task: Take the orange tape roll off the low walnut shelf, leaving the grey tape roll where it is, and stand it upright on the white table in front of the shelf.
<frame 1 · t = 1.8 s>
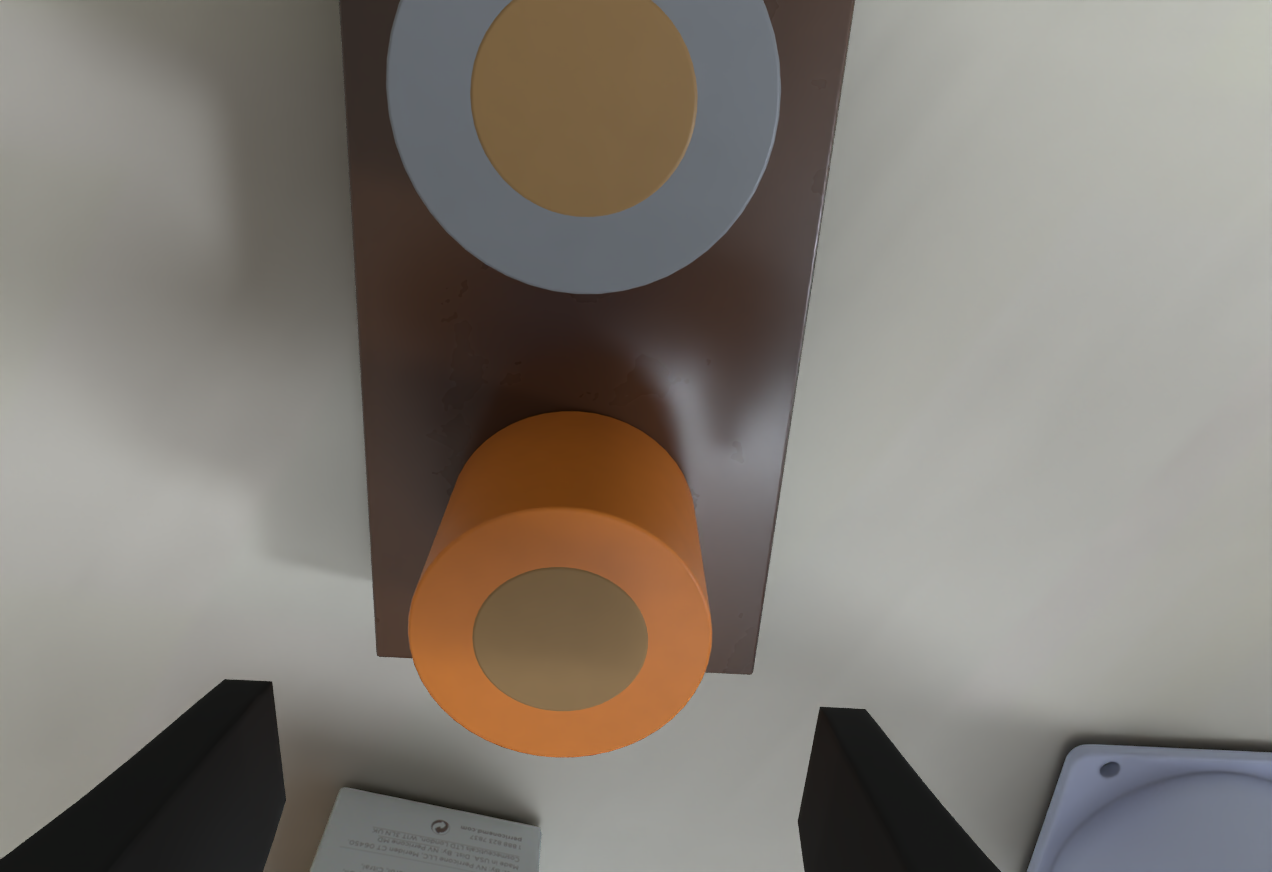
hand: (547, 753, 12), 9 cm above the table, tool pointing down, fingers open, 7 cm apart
shelf: (587, 290, 18), on the table
grey tape: (593, 87, 14), point 3 cm above the table, touching shelf
orange tape: (572, 523, 18), point 3 cm above the table, touching shelf
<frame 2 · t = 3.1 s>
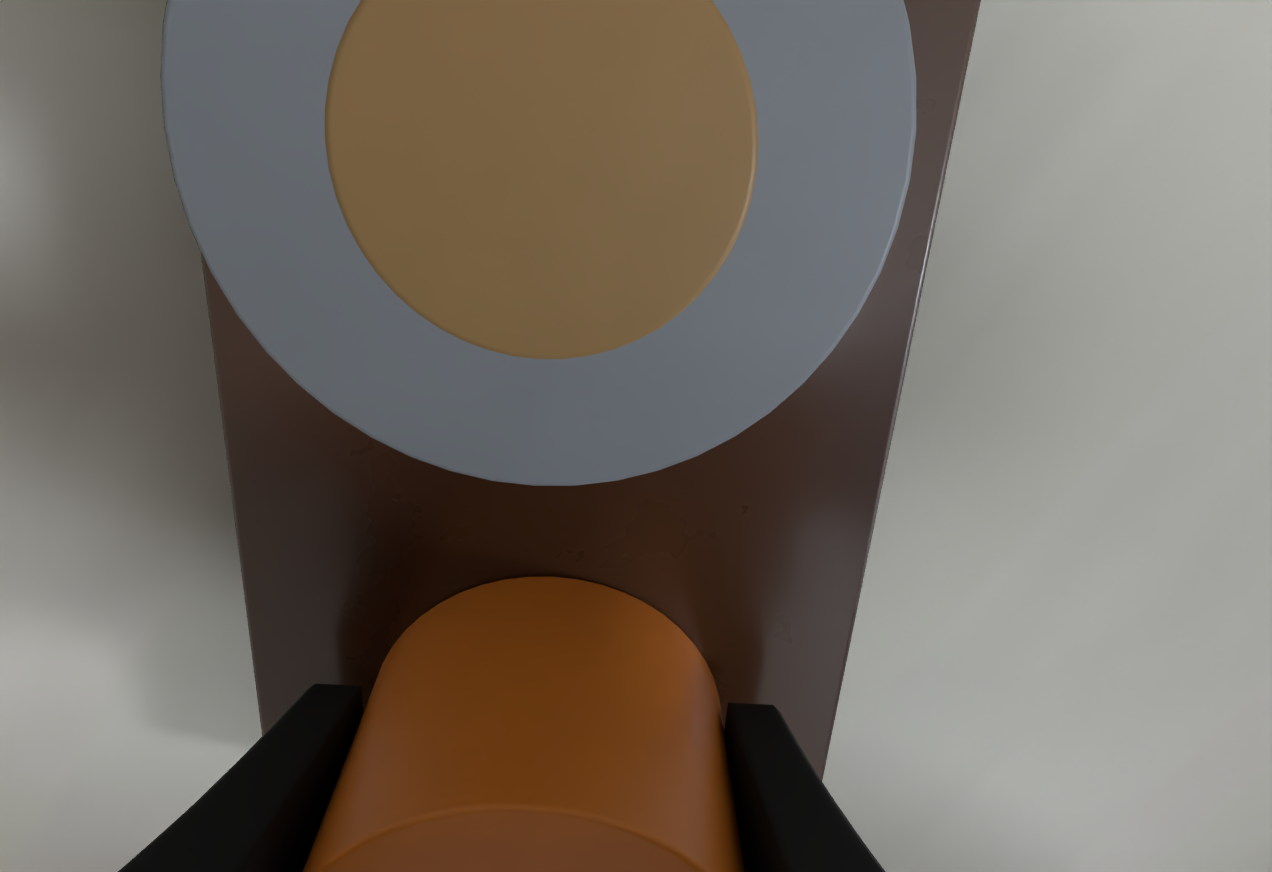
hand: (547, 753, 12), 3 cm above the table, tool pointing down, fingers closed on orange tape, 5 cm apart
shelf: (570, 385, 13), on the table
grey tape: (572, 111, 9), point 3 cm above the table, touching shelf
orange tape: (547, 721, 12), point 3 cm above the table, touching gripper, shelf
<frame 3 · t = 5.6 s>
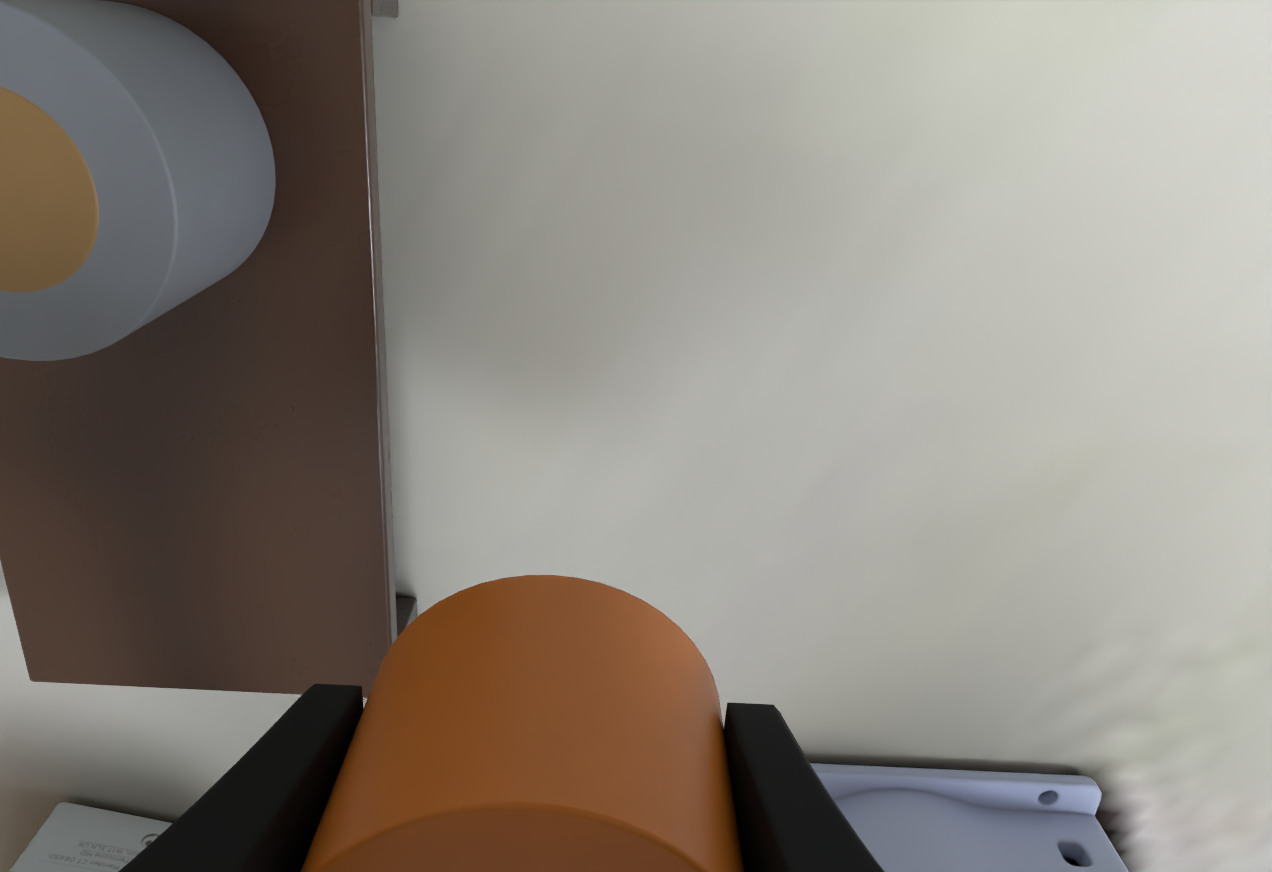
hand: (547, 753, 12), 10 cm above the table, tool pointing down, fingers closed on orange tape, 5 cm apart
shelf: (222, 334, 19), on the table
grey tape: (134, 156, 15), point 3 cm above the table, touching shelf
orange tape: (547, 720, 12), point 9 cm above the table, touching gripper
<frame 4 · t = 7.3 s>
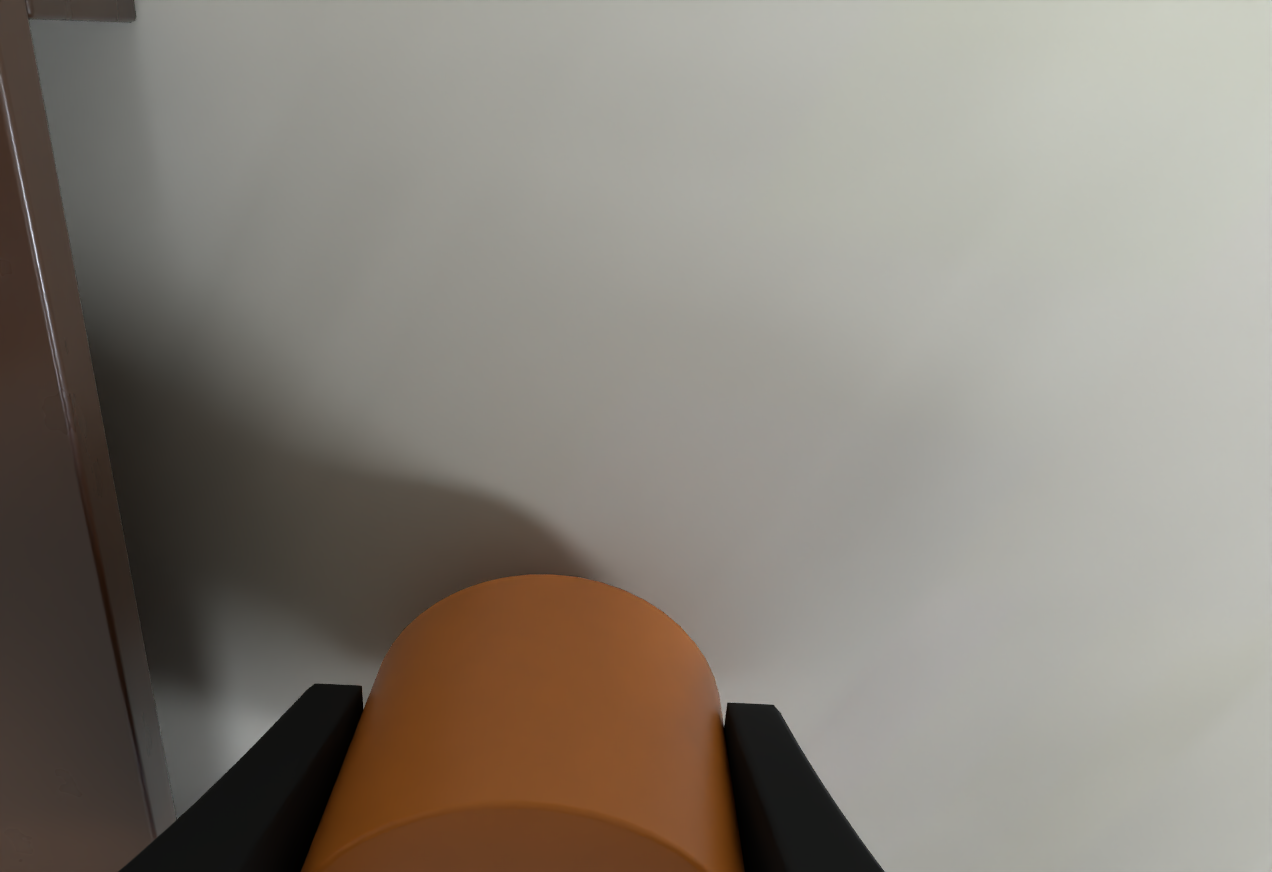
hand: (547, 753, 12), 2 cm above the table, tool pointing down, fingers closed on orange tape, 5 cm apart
orange tape: (547, 719, 12), point 1 cm above the table, touching gripper
when the fingers open (1 cm above the table, at t = 8.2 s): orange tape stays where it is, on the table.
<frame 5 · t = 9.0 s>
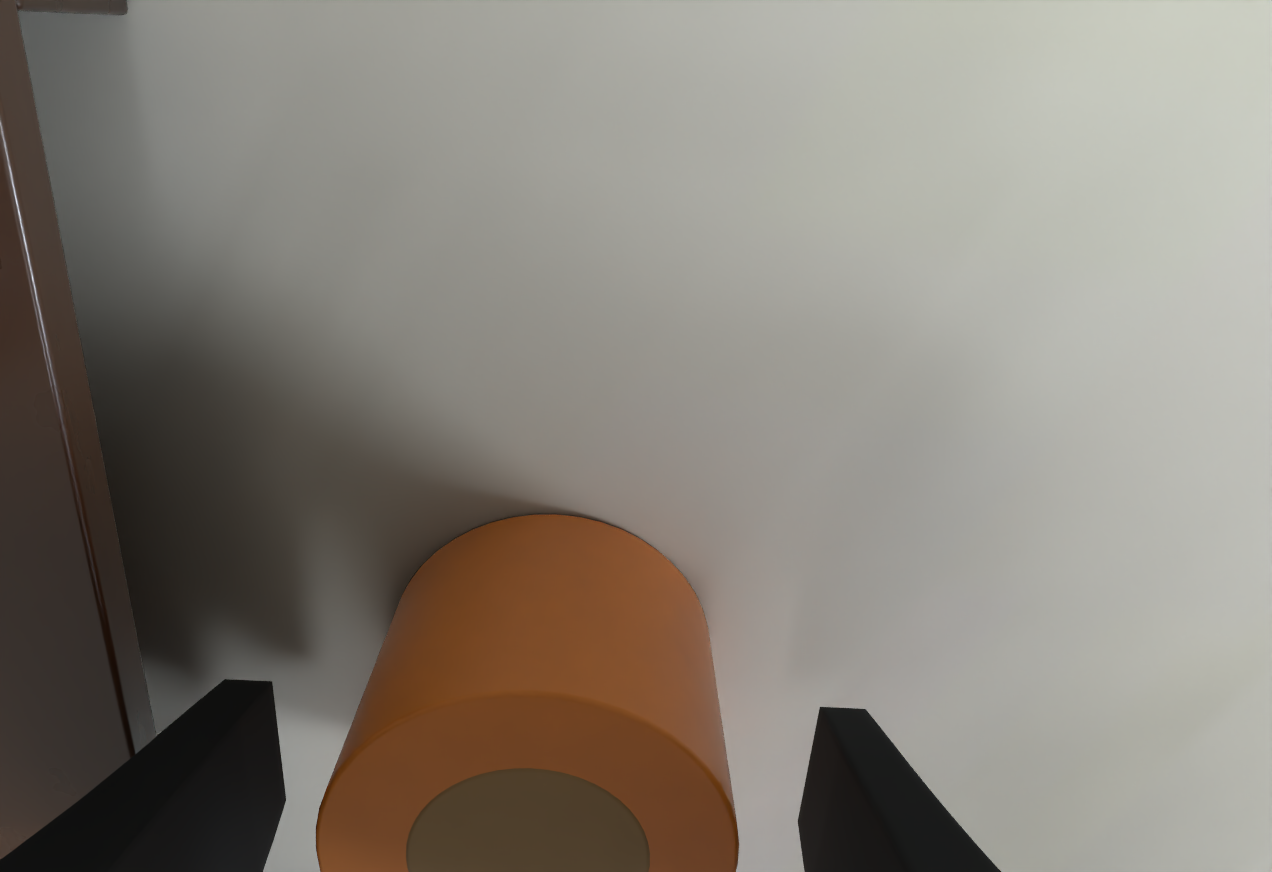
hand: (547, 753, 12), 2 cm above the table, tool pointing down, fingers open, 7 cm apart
orange tape: (551, 650, 14), on the table
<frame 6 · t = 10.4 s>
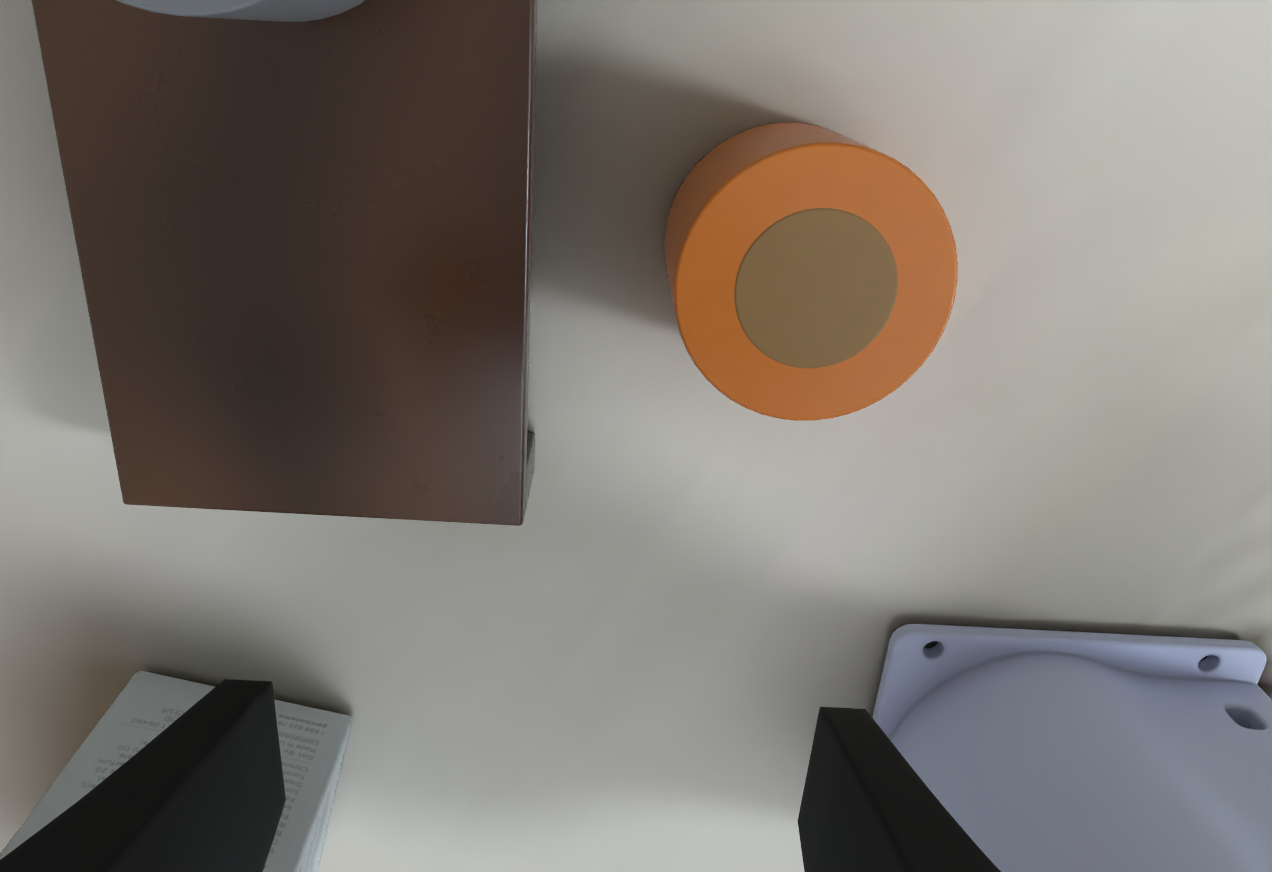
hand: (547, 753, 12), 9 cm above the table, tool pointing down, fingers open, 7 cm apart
shelf: (337, 114, 17), on the table
small box: (235, 792, 25), on the table
orange tape: (779, 244, 19), on the table
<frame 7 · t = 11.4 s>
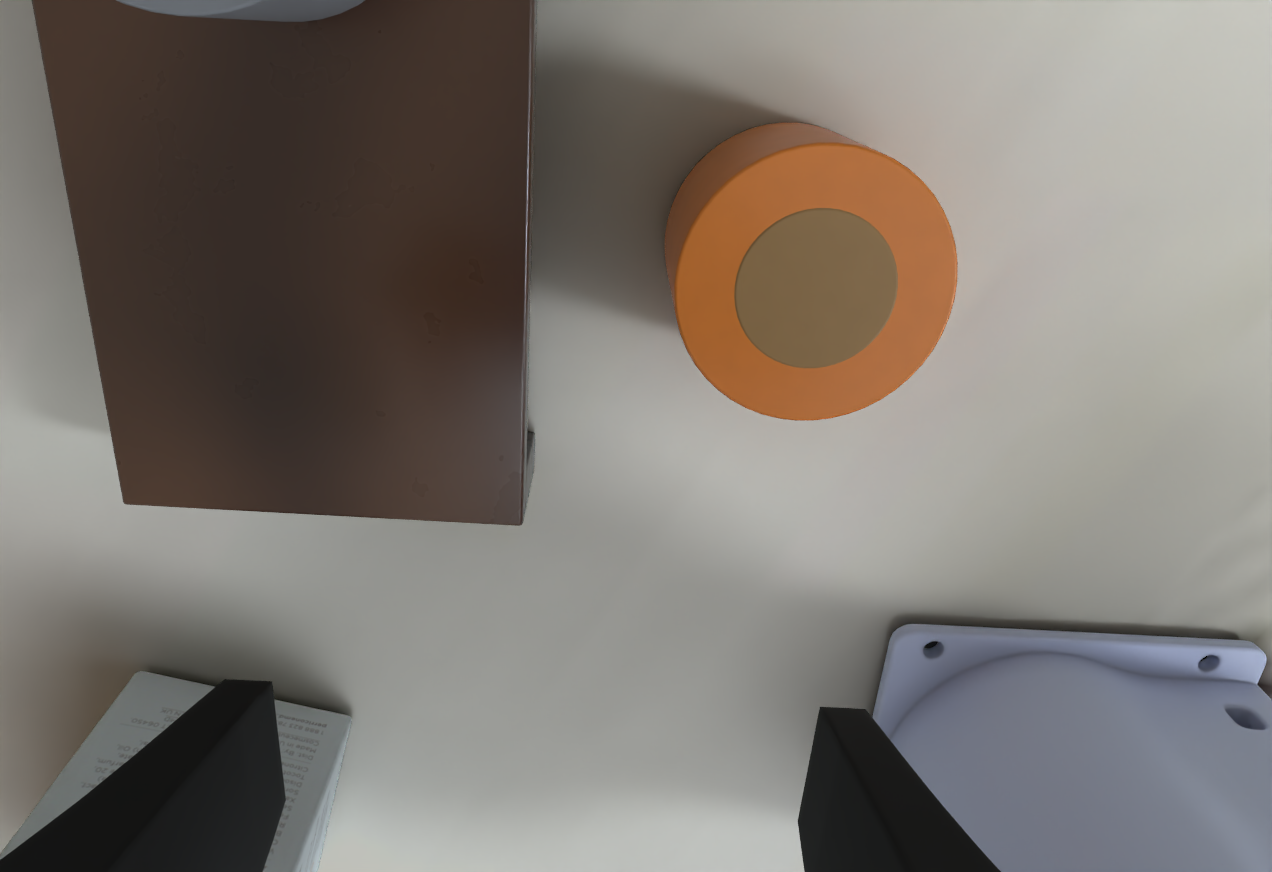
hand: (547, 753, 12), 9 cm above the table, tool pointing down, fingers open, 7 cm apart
shelf: (337, 114, 17), on the table
small box: (235, 792, 25), on the table
orange tape: (779, 244, 19), on the table
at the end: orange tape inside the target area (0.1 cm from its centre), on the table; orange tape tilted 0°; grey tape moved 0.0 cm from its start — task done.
